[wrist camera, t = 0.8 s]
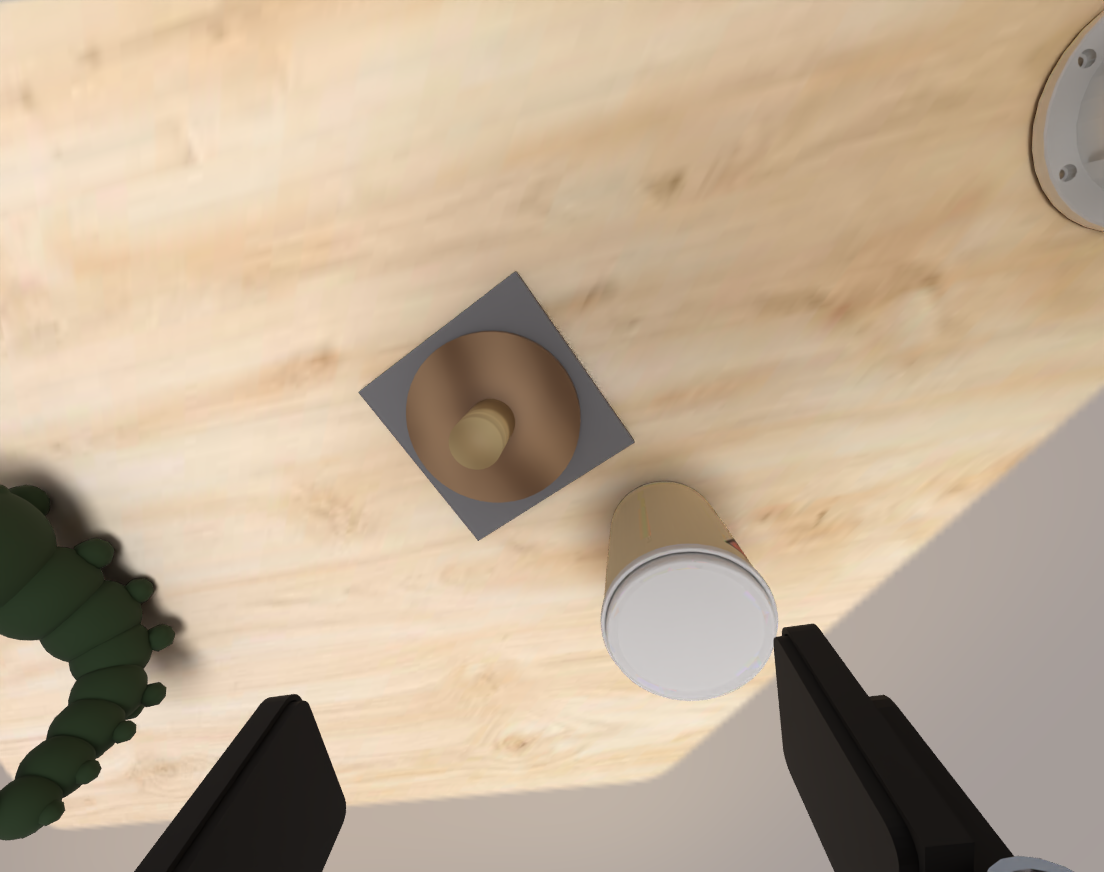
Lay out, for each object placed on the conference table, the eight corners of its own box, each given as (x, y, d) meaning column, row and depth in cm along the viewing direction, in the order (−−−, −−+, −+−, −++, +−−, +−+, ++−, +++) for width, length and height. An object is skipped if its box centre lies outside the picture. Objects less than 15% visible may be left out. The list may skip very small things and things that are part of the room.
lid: (511, 293, 34) (493, 297, 28) (614, 438, 36) (617, 470, 30) (377, 395, 37) (335, 418, 31) (480, 524, 39) (459, 568, 33)
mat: (516, 271, 34) (515, 271, 34) (633, 439, 37) (634, 442, 36) (361, 390, 37) (358, 392, 37) (480, 537, 40) (478, 540, 40)
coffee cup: (721, 586, 40) (771, 711, 28) (598, 580, 40) (598, 700, 29) (733, 471, 37) (794, 558, 26) (601, 468, 38) (603, 551, 26)
